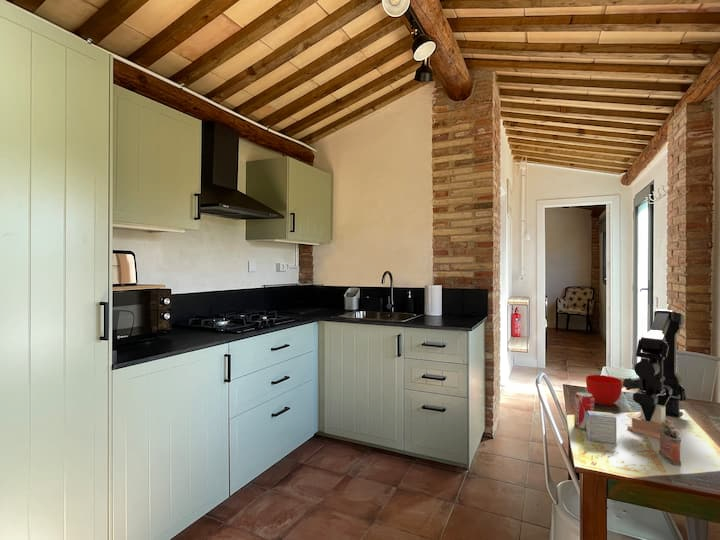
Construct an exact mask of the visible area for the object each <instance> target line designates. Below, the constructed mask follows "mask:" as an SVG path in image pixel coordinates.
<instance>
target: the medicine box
mask: <svg viewBox="0 0 720 540" xmlns="http://www.w3.org/2000/svg"><path fill="white" fill-rule="evenodd" d="M586 436H587V438H588V440H589V441H592V442H601V443H609V444H617V443H618V441H617V417H616V415H614V413H613V412H606V411H605V412H604V411H595V410H594V411H587V430H586Z"/></svg>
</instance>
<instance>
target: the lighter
mask: <svg viewBox="0 0 720 540" xmlns="http://www.w3.org/2000/svg"><path fill="white" fill-rule="evenodd" d="M662 427H664V428H665V429H659V432H660V439H659V450H658V454H659V456H660V457H661V458H662V459H663V460H664V461H665V462H667V463H669V464H671V465H673V466H679V467H680V466H682V461H681V442H682V439H681V437H679V436H678V435H676V434H677V430H678V429H677V430H675V429H676V428H675V426H674V427H673V426H669V425H668V424H667V423H666V422H663V423H662Z"/></svg>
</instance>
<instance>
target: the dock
mask: <svg viewBox="0 0 720 540" xmlns="http://www.w3.org/2000/svg"><path fill="white" fill-rule="evenodd" d="M665 422H666V423H667V424H668V425H669V426H673V427H674V429H675V430H677V434H676V435H677V436H678V435H679V434H680V430H679V429H677V428H675V420H671V419H667V418H665ZM628 429H629V430H628ZM659 429H665V428H664V427H662V424H658V423H654V422H651V421H650V422H649V421H646V420H643V419H641V412H639V413H637V414H636V415H635V416H632V417H631V423H630V424H628V425H627V430H628V431H631V430H632V432H634V433H635V432H636V433H639V434H641V435H646V436H648V437H652V438H657V439H659V440H660V432H659Z"/></svg>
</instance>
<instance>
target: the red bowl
mask: <svg viewBox="0 0 720 540" xmlns="http://www.w3.org/2000/svg"><path fill="white" fill-rule="evenodd" d="M585 383H586V390H587V393H590V394H592V396H593V398H594V404H597V403H598V404H597V405H600V404H602V405H601V406H606V405H610V406H613V405H614V404H615V403H616V402H617V401H618V400H619V399H620V398H621V395H622V391H623V390H622V389H623V381H622V380H621V379H620V378H618V377H614V376H609V375H602V374H601V375H600V374H589V375H587V376H586V377H585Z"/></svg>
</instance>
